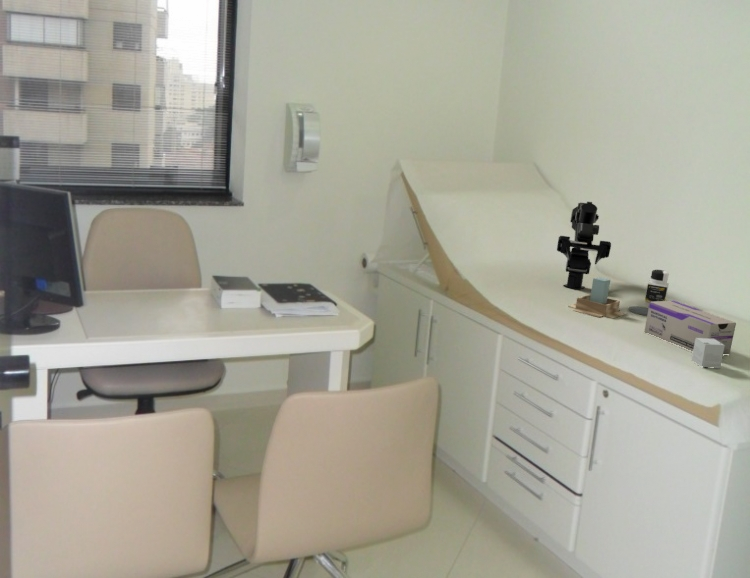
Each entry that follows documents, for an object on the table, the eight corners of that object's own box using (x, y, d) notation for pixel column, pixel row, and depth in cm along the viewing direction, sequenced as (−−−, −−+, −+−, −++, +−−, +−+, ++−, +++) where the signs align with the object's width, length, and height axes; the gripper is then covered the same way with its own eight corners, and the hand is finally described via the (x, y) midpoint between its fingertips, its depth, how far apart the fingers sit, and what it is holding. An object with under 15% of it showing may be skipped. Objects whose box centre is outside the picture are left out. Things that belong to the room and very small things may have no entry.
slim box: (593, 308, 295) (598, 276, 292) (605, 311, 292) (610, 279, 289) (588, 310, 292) (593, 278, 289) (599, 313, 289) (605, 281, 286)
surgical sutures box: (644, 333, 269) (649, 301, 267) (668, 331, 274) (673, 300, 272) (704, 358, 248) (711, 324, 245) (729, 356, 253) (736, 322, 250)
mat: (635, 306, 303) (635, 304, 303) (662, 313, 297) (662, 311, 297) (624, 310, 296) (624, 308, 296) (651, 317, 290) (651, 315, 290)
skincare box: (709, 361, 244) (714, 338, 242) (720, 369, 238) (725, 344, 237) (690, 361, 243) (695, 337, 241) (701, 368, 237) (706, 343, 236)
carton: (585, 301, 303) (587, 291, 302) (629, 312, 293) (631, 301, 292) (563, 308, 291) (565, 297, 290) (608, 320, 280) (610, 308, 279)
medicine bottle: (644, 301, 313) (650, 270, 310) (646, 297, 319) (651, 267, 316) (664, 304, 310) (670, 273, 307) (665, 301, 317) (671, 270, 314)
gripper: (562, 213, 303) (559, 241, 293) (614, 220, 300) (613, 248, 289) (558, 236, 311) (555, 264, 300) (608, 243, 308) (607, 271, 297)
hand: (582, 261), depth 297 cm, fingers open, 9 cm apart
